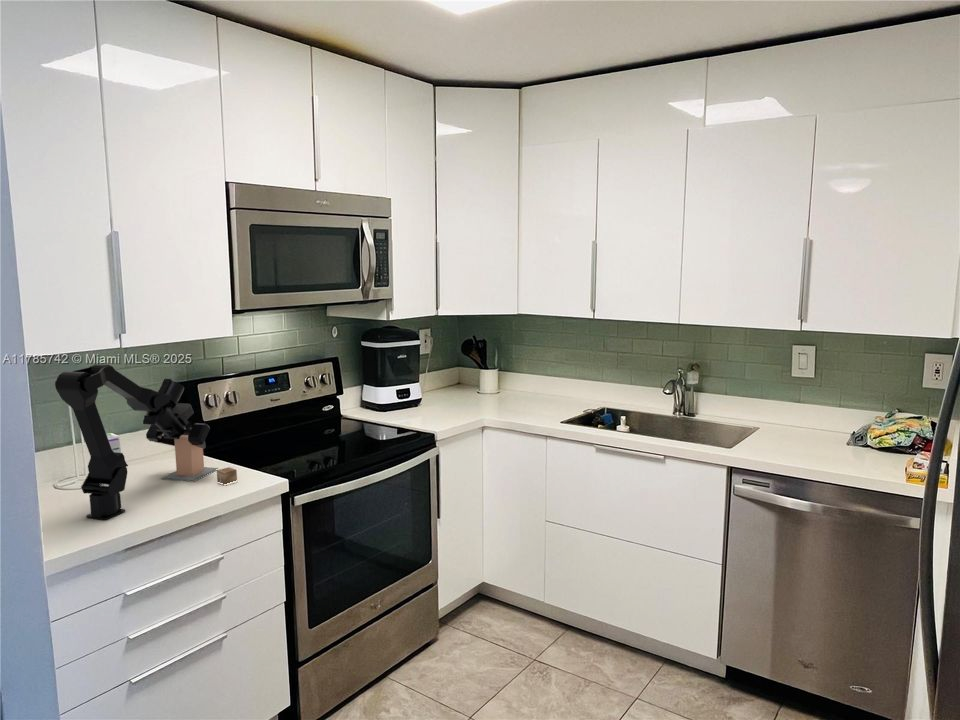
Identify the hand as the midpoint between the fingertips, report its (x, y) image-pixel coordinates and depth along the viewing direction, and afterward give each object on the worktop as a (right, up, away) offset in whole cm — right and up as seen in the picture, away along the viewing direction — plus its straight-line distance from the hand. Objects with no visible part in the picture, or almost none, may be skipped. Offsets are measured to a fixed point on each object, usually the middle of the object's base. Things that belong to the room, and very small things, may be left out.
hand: (191, 446), depth 207 cm
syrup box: (-21, -10, -8) cm, 24 cm away
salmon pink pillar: (0, -8, 0) cm, 8 cm away
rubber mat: (0, -9, 0) cm, 9 cm away
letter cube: (+14, -10, -8) cm, 19 cm away
